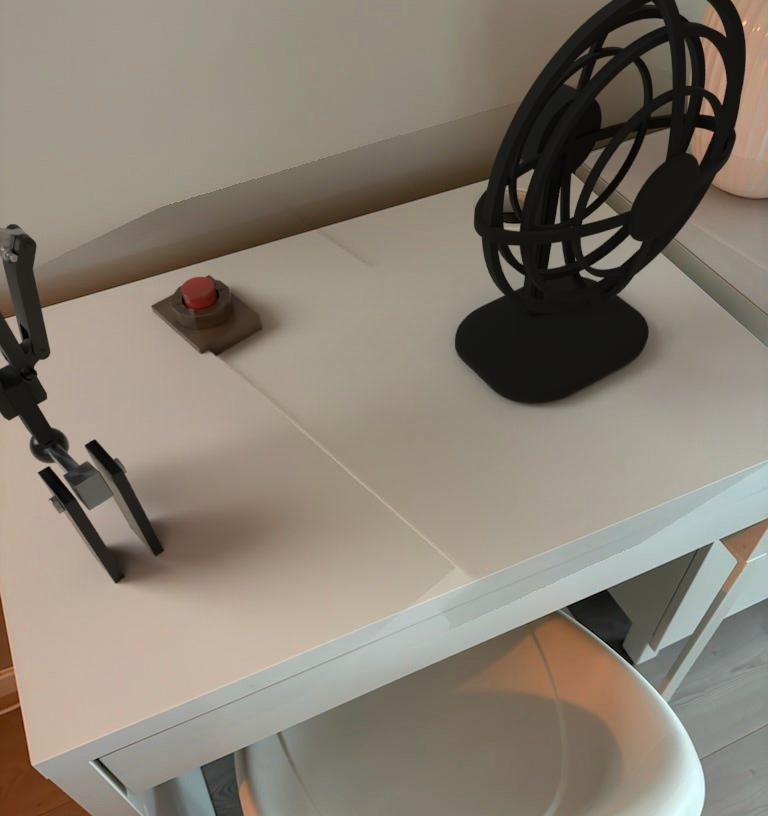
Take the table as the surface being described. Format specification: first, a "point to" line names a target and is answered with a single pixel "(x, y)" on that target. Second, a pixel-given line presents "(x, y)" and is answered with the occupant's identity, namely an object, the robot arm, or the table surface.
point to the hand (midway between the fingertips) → (41, 432)
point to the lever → (73, 470)
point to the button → (199, 293)
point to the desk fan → (553, 165)
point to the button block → (210, 320)
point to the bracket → (124, 498)
